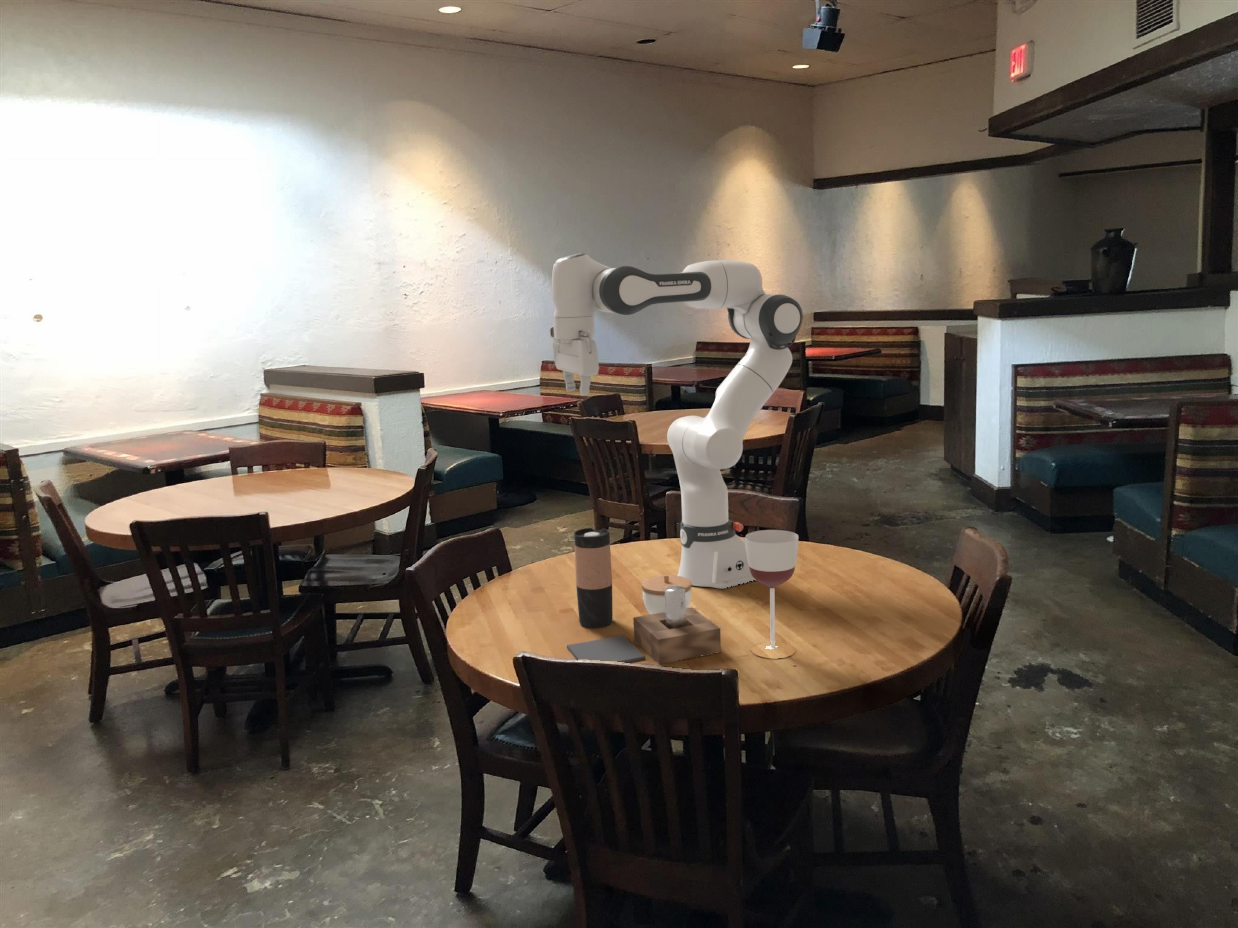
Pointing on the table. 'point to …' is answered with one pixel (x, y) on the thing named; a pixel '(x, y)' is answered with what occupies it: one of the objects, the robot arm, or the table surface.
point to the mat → (607, 650)
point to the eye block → (676, 637)
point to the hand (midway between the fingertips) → (577, 393)
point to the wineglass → (772, 563)
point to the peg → (675, 607)
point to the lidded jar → (662, 591)
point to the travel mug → (593, 577)
